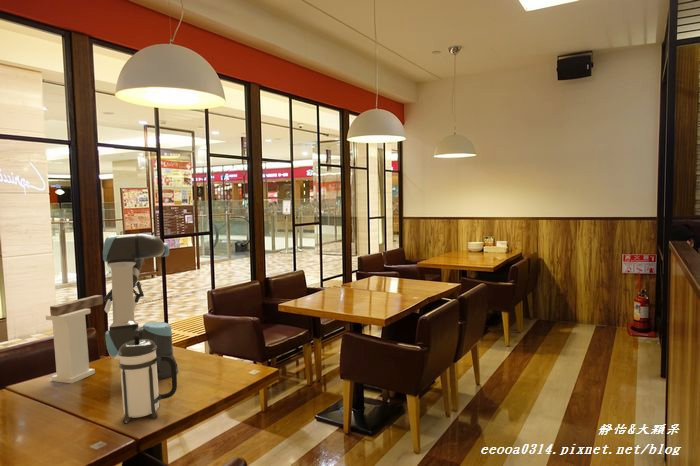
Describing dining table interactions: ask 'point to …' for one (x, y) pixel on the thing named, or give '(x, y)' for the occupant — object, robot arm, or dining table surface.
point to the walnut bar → (76, 305)
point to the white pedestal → (71, 346)
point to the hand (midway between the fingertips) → (119, 309)
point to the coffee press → (142, 378)
